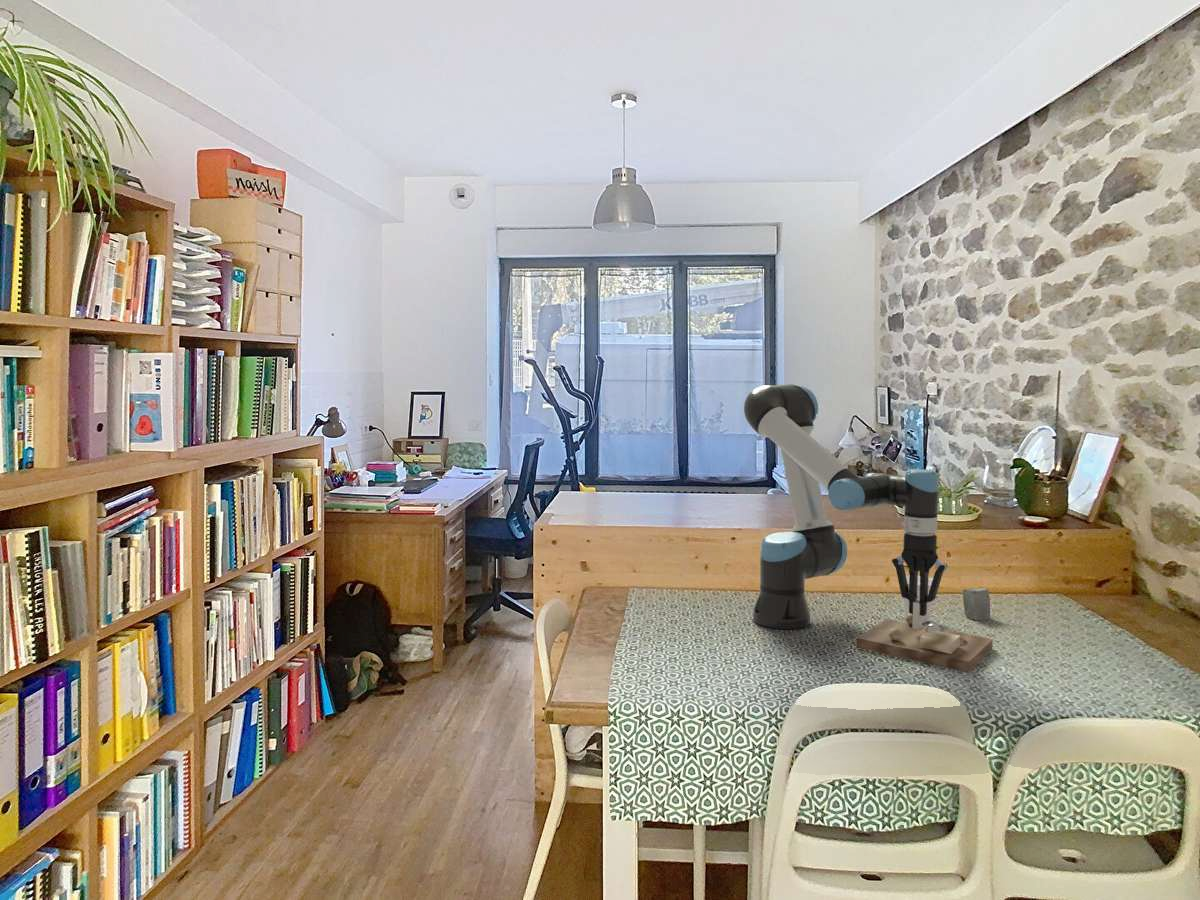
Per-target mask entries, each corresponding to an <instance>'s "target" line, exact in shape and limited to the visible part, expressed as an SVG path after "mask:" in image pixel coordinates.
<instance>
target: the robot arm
mask: <svg viewBox="0 0 1200 900" xmlns="http://www.w3.org/2000/svg"><path fill="white" fill-rule="evenodd" d="M743 412H744V413H743V414H744V417H745V420H746V421H747V423H748V424H749V426H750V427H751V428H752V429H753V430H754V432H756V433H757V434H758V435H759V436H761V438H762V437H763V438H769V439H770V440H771V441H772V442H773V443H774V444H775V445H776V446H778V447H779V449H780V452H781V458H782V463H783V467H784V471H785V472H784V473H785V478H786V482H787V487H788V493H789V498H790V504H791V508H792V509H791V510H792V514H793V519H794V525H793V527H792V529H791V530H790V531H783V532H780V531H779V532H774V533H771V534H768V535H766V536H765V537H763V539H762V540H761V545H760V553H759V554H760V555H759V556H760V566H759V567H760V569H759V571H760V573H759V575H760V576H759V577H760V578H759V579H760V582H759V585H760V586H759V594H758V595H757V599H756V603H755V605H754V607H753V609H752V610H753V612H752V621H754V623H756V624H757V625H759V626H762V627H765V628H766V627H767V628H771V629H777V630H797V629H798V630H799V629H803V628H806V627H808V626H809V625H810V624H811V612H810V610H809V605H808V603H807V602H808V601H807V599H806V596H805V587H806V585H805V584H806V580H807V579H808V580H809V579H812V578H817V577H822V576H823V577H825V576H828V575H831V574H833V573H836V572H838V571H839V570H840V569H842V568H843V566H844V564H845V563H846V561H847V557H848V547H847V543H846V541H845V539H844V537H843V536H841V534H840V533H839V532H837V531H835V526H834V523H833V522H831V521H830V520H828V518H827V516H826V510H825V509H826V508H825V505H824V499H823V495H822V491H821V490H822V489H821V487H823V488H824V489H825V490H826V491H827V494H828V499H829V501H830V504H831V505H832V506H833V507H834V509H837V510H840V511H852V510H853V511H855V510H859V509H864V508H869V507H871V508H872V507H877V506H883V505H885V506H886V505H887V506H888V505H889V506H897V507H901V508H902V507H904V514H903V515H904V516H903V517H904V520H903V521H904V522H903V524H904V525H903V530H904V531H905V533H904V534H903V550H902V552H901V554H900V555H899V556H896V557H894V558H892V559H891V562H892V564H893V566H894V568H895V570H896V571H895V572H896V575H897V579H898V585H899V589H900V595H901V598H902V597H903V598H906V599H908V600H909V613H910V614H913V625H912V628H914V629H920V628H921V627H922V626H923V623H922V616H925V615H926V613H927V602H931V601H933V602H934V600H936V597H937V594H938V591H939V588H940V583H941V582H942V581H941V580H942V577H943V574H944V572H945V571H946V570H947V569H948V564H947V563H943V562H942V561H941V560H940V559H939V556H938V554H937V546H938V545H937V544H938V543H937V542H938V538H937V537H938V536H937V533H938V503H939V502H938V501H939V500H938V499H939V491H940V488H939V474H938V472H936V471H935V470H932V469H922V468H918V469H917V468H915V469H913V468H912V469H908V470H906V472H905V475H904V476H903V475H897V474H896V475H895V474H886V473H883V472H877V473H875V472H870V473H867V474H865V476H859V475H857V474H856V473H854V472H853V471H852V470H851V469H849V467H847V466H846V465H845V464H844V463H842V462H841V460H839V459H837V457H835V455H833V454H832V453H831V452H830V451H829V450H827V449H826V448H825V447H824V446H823V445H822V444H820V442H818V441H817V440H816V439H814V438H813V437H812V436H811V433H812V432H813V430H815V429H814V428H815V427H814V421H815V420H816V419H817V415H818V413H819V404H818V400H817V398H816V396H815V394H814V392H813V391H812V390H810V389H809V388H808V387H806V386H803V385H799V384H798V385H797V384H792V383H791V384H779V385H777V384H776V385H775V384H774V385H771V384H770V385H769V384H767V385H765V384H764V385H761V386H757V387H756V388H754V389H752V391H751V392H750V393H749V394H747V396H746V398H745V401H744V406H743ZM904 564H905V565H906V566H907V567H908V574H909V575H908V576H909V588H908V583H907V578H906V576H907V575H906V570H905V566H904ZM934 565H935V566H934ZM933 566H934V569H935V570H936V571H935V572H934V574H933V578H932V579H933V581H932V584H931V587H930V591H929V594H928V578H929V575H930V570H931V569H932V568H933ZM918 576H920V599H919V600H916V599H917V598H918V597H917V582H918Z"/></svg>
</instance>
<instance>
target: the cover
mask: <svg viewBox="0 0 1200 900" xmlns="http://www.w3.org/2000/svg"><path fill="white" fill-rule="evenodd" d="M959 646H960V636H959V635H954V634H949V633H944V632H939V631H934V630H929V631H928V632H926V633H925V634H924V635H922V636H921V637H920V648H925V649H930V650H935V651H939V652H944V653H949V654H951V653H953V652H954V651H955V650H956V649H957V648H958V647H959Z"/></svg>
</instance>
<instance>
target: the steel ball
mask: <svg viewBox="0 0 1200 900" xmlns="http://www.w3.org/2000/svg"><path fill="white" fill-rule="evenodd" d="M925 626H926V629H925V632H928V631H929V630H934V631H939V632H941V630H940V629H941V628H940V626H939V625H938V624H936V623H934V622H933V623H929V624H927V625H925Z"/></svg>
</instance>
